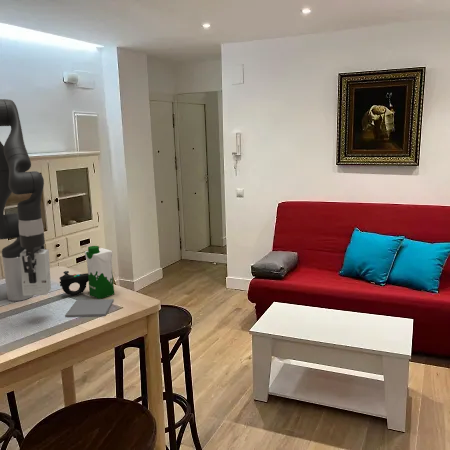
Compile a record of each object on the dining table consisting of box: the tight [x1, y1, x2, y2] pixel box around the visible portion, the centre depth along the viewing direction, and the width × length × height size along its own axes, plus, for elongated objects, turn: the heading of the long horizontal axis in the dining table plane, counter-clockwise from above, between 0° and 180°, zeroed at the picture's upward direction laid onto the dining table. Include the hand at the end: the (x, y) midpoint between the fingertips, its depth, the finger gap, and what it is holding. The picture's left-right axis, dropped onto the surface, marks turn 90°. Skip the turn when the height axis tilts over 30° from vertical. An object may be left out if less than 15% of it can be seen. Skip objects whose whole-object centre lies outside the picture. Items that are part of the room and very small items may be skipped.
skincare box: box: [20, 248, 52, 296], centre depth 154 cm, size 8×6×15 cm
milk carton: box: [84, 245, 115, 299], centre depth 178 cm, size 9×9×20 cm
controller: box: [59, 270, 89, 297], centre depth 180 cm, size 4×12×10 cm, turn 113°
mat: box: [64, 298, 115, 318], centre depth 166 cm, size 14×14×1 cm
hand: (36, 279), depth 155 cm, fingers closed on skincare box, 6 cm apart
